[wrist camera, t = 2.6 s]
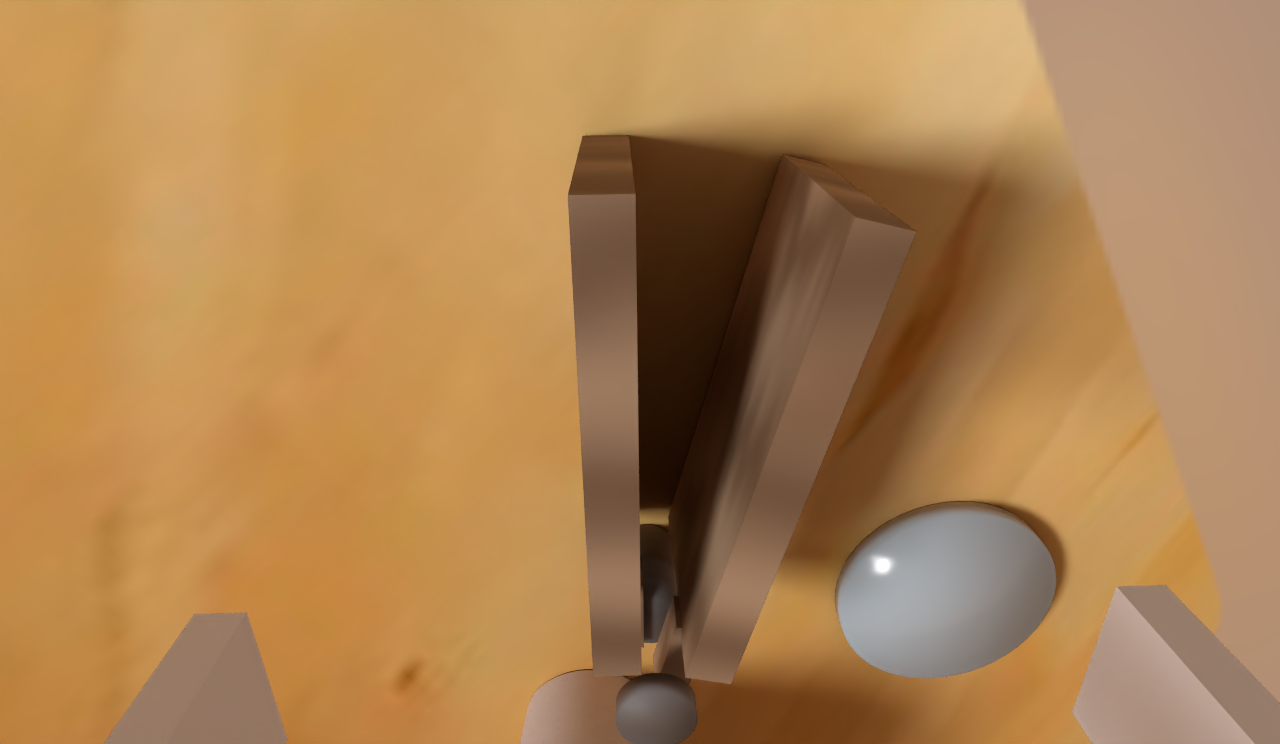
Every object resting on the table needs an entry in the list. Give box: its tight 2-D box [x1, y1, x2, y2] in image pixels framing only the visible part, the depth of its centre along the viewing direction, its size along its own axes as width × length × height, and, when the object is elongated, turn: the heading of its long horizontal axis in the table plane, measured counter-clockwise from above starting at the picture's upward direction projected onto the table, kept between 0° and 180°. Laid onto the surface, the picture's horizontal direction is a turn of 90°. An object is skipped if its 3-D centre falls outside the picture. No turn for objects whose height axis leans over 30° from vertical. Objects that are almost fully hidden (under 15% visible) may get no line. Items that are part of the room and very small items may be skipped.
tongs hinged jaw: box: [653, 154, 916, 684], centre depth 26 cm, size 19×2×9 cm, turn 167°
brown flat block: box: [568, 135, 697, 744], centre depth 26 cm, size 19×4×9 cm, turn 1°
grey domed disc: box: [835, 501, 1056, 678], centre depth 35 cm, size 10×10×1 cm
